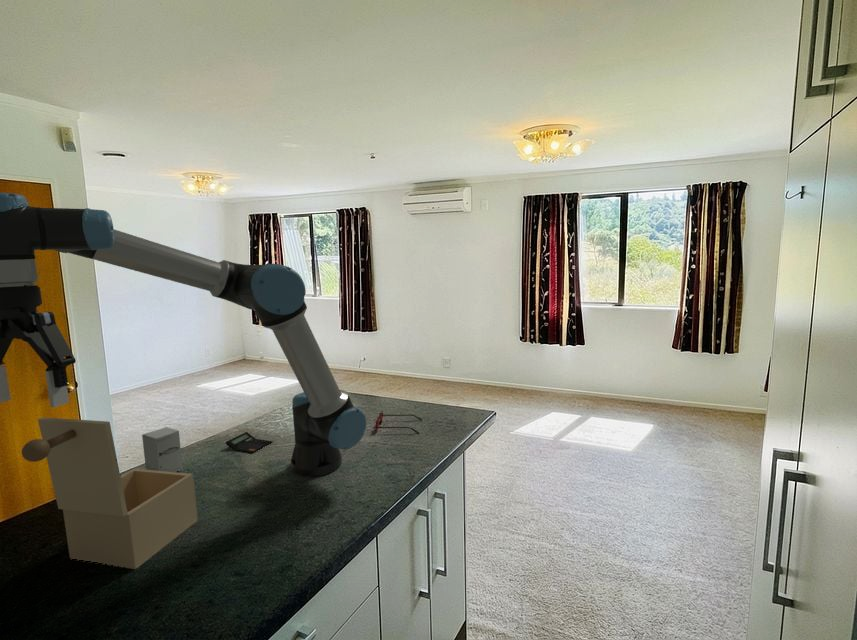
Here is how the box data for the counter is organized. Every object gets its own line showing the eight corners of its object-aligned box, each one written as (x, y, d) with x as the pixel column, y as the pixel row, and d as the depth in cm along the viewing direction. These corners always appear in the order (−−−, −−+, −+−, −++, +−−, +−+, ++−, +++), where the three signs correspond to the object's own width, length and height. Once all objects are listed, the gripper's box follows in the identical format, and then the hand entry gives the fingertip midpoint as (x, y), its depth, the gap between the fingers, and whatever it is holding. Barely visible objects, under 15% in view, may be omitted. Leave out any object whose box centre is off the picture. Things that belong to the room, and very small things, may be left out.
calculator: (253, 454, 151) (252, 445, 150) (226, 450, 155) (225, 441, 154) (272, 443, 159) (272, 435, 159) (246, 439, 163) (245, 431, 163)
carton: (197, 520, 112) (192, 474, 110) (135, 569, 95) (128, 514, 93) (139, 513, 116) (134, 468, 114) (70, 559, 99) (62, 506, 97)
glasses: (380, 421, 178) (379, 408, 178) (422, 420, 177) (422, 408, 177) (373, 434, 165) (373, 421, 164) (419, 434, 164) (419, 421, 163)
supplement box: (159, 480, 134) (154, 438, 132) (145, 474, 138) (141, 434, 136) (183, 469, 140) (179, 430, 138) (170, 464, 144) (166, 426, 142)
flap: (109, 421, 89) (58, 445, 80) (127, 513, 93) (81, 547, 84) (42, 417, 93) (-14, 439, 83) (63, 506, 97) (11, 537, 87)
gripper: (89, 282, 80) (105, 399, 83) (-18, 285, 86) (0, 394, 89) (45, 285, 73) (64, 413, 76) (-69, 288, 79) (-47, 407, 82)
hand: (30, 403), depth 83 cm, fingers open, 13 cm apart
